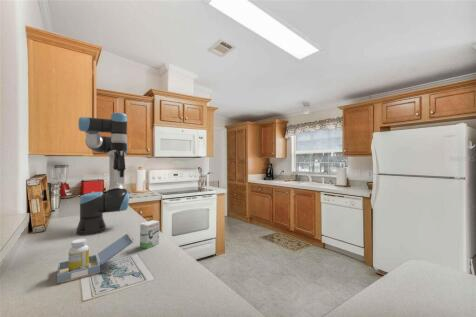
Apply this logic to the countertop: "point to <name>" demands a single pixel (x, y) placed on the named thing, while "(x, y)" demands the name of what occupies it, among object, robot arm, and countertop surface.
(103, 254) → the lid
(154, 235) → the ink box
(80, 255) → the pill bottle
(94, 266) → the box
